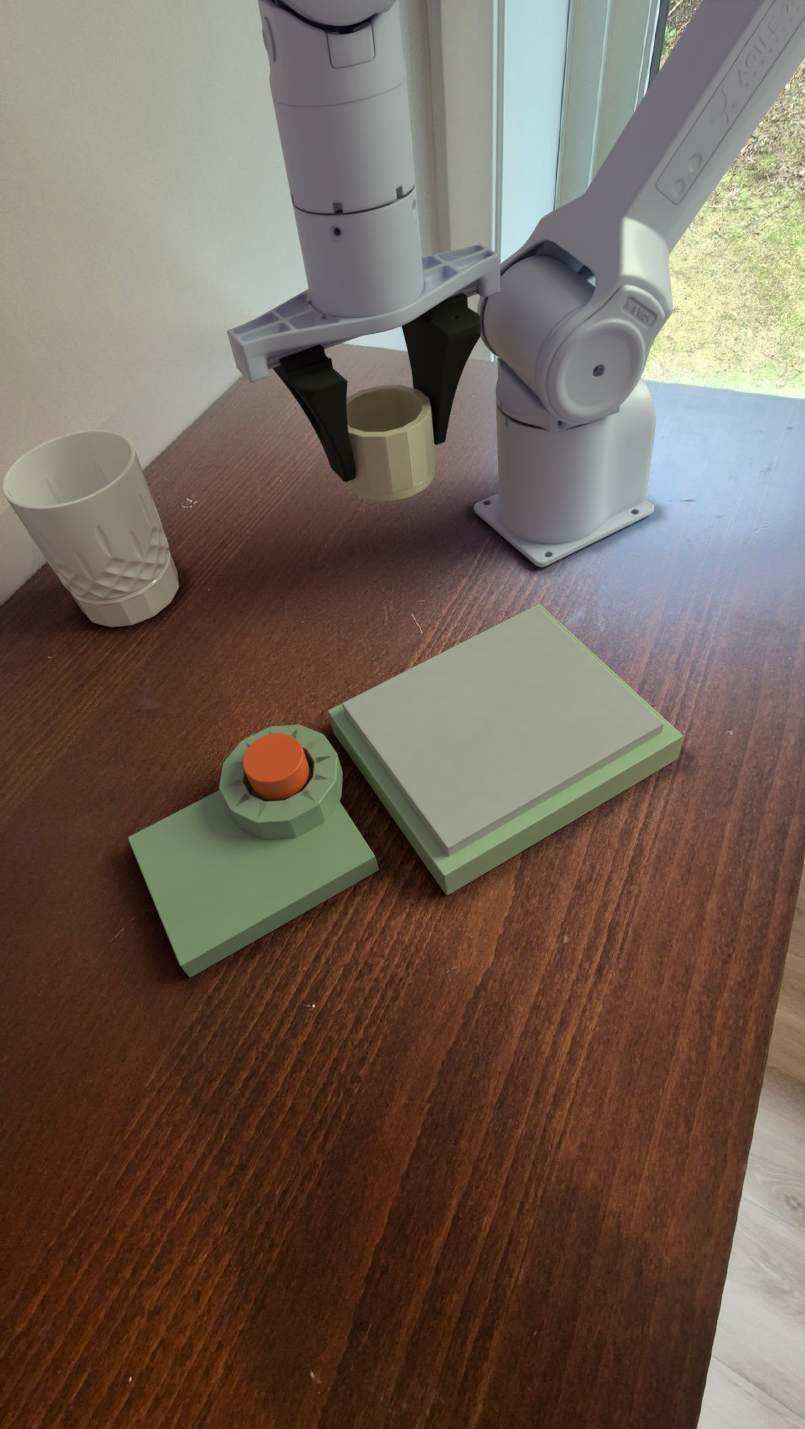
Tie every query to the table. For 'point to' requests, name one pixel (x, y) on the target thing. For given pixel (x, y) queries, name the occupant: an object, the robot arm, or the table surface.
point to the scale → (500, 743)
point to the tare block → (251, 856)
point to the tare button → (276, 766)
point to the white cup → (95, 524)
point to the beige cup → (391, 442)
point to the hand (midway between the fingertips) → (389, 454)
